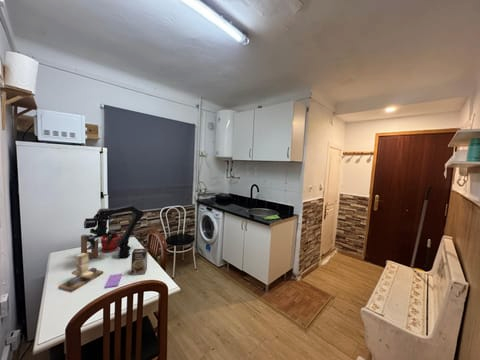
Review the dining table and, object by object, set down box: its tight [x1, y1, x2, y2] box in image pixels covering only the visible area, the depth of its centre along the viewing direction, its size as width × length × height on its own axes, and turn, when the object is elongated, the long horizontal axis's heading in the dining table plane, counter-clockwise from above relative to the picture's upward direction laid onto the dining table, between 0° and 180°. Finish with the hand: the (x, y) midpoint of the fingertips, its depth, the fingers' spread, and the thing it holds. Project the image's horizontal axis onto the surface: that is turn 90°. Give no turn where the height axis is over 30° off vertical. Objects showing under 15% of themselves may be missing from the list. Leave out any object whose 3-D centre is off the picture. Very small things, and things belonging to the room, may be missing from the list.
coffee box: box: [130, 248, 149, 276], centre depth 133 cm, size 9×6×16 cm
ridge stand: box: [58, 267, 104, 293], centre depth 121 cm, size 20×10×4 cm, turn 168°
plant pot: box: [100, 234, 121, 253], centre depth 162 cm, size 13×13×12 cm
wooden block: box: [80, 234, 99, 259], centre depth 148 cm, size 4×11×18 cm, turn 109°
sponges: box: [104, 273, 123, 289], centre depth 122 cm, size 7×13×2 cm, turn 22°
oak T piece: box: [71, 253, 93, 278], centre depth 120 cm, size 12×4×13 cm, turn 78°
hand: (100, 247), depth 140 cm, fingers open, 9 cm apart
